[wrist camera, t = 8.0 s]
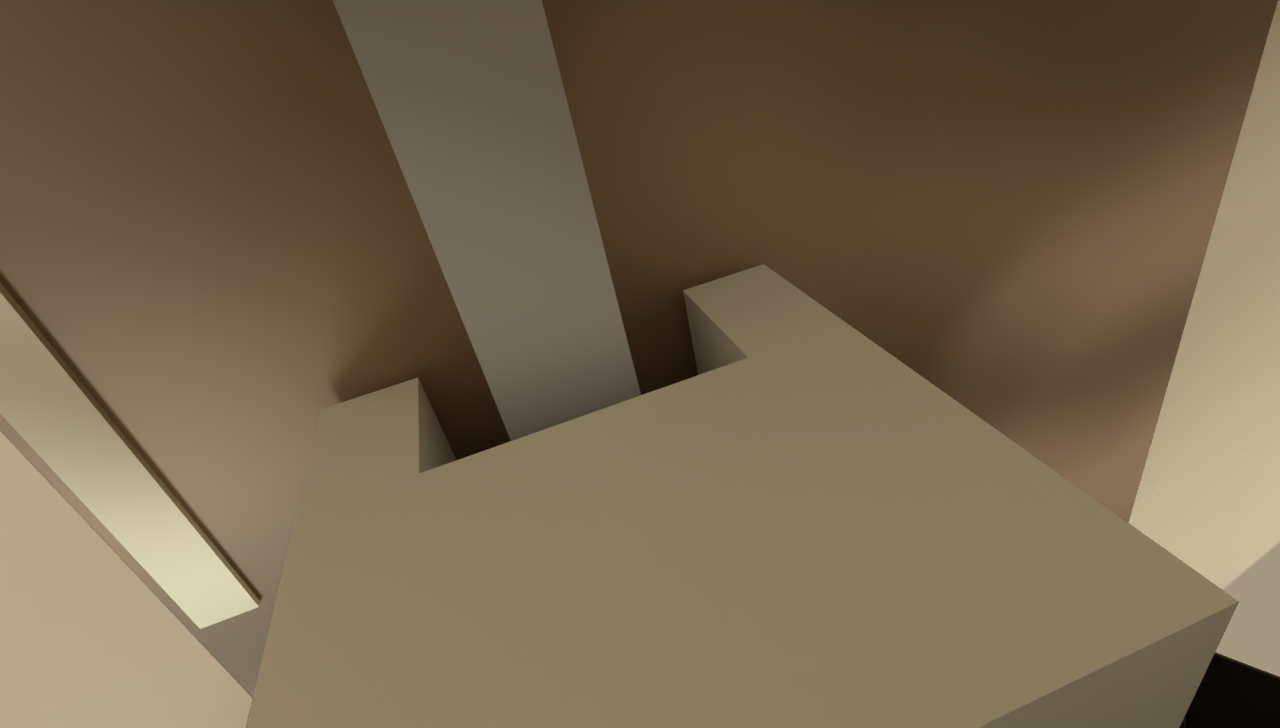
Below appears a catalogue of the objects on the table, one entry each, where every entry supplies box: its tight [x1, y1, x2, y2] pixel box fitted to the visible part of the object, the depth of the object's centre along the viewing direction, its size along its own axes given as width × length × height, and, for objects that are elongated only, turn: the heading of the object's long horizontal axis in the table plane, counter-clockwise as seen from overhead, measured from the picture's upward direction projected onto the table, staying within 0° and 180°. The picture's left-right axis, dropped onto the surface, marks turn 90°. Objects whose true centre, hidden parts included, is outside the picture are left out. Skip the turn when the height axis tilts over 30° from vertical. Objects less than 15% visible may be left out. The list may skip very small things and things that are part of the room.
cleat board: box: [0, 0, 1278, 698], centre depth 11 cm, size 24×18×3 cm
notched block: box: [246, 264, 1239, 728], centre depth 8 cm, size 8×6×6 cm
